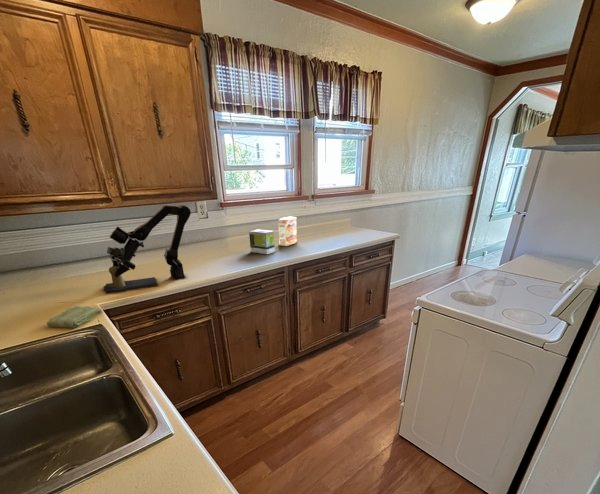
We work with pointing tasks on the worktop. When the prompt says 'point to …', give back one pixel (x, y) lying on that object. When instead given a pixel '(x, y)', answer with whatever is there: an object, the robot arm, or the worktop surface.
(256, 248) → the tea box
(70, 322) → the washcloth
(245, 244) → the worktop surface
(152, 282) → the socket pad
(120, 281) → the cork
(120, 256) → the robot arm
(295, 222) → the coffeecake box
